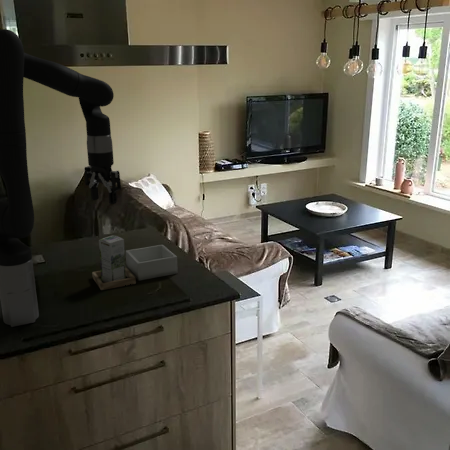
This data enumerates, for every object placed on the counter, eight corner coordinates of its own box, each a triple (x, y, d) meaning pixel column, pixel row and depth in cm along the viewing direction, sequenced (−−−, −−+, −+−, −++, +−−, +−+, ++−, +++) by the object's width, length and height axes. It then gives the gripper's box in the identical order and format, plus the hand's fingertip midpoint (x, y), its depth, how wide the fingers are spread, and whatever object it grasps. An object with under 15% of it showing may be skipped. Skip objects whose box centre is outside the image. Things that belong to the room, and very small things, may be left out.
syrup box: (114, 275, 173) (112, 234, 169) (126, 280, 170) (124, 238, 165) (101, 281, 169) (97, 238, 165) (112, 285, 165) (109, 242, 161)
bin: (177, 273, 175) (177, 256, 173) (138, 280, 169) (137, 263, 167) (163, 260, 187) (162, 244, 185) (126, 266, 181) (125, 250, 179)
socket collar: (135, 283, 167) (135, 277, 166) (101, 290, 162) (100, 284, 162) (125, 271, 176) (125, 266, 176) (92, 277, 172) (92, 272, 171)
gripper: (125, 150, 156) (128, 202, 161) (95, 146, 164) (98, 195, 169) (105, 154, 150) (109, 208, 155) (75, 149, 159) (79, 200, 164)
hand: (103, 201), depth 162 cm, fingers open, 8 cm apart
